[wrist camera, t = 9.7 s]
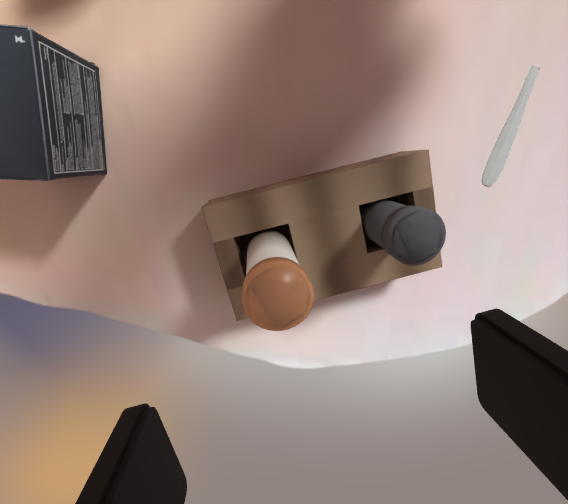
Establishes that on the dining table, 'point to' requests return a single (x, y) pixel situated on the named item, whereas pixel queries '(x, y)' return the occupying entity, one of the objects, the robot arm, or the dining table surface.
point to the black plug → (403, 230)
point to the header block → (323, 223)
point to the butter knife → (508, 132)
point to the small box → (47, 110)
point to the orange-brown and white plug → (275, 284)
